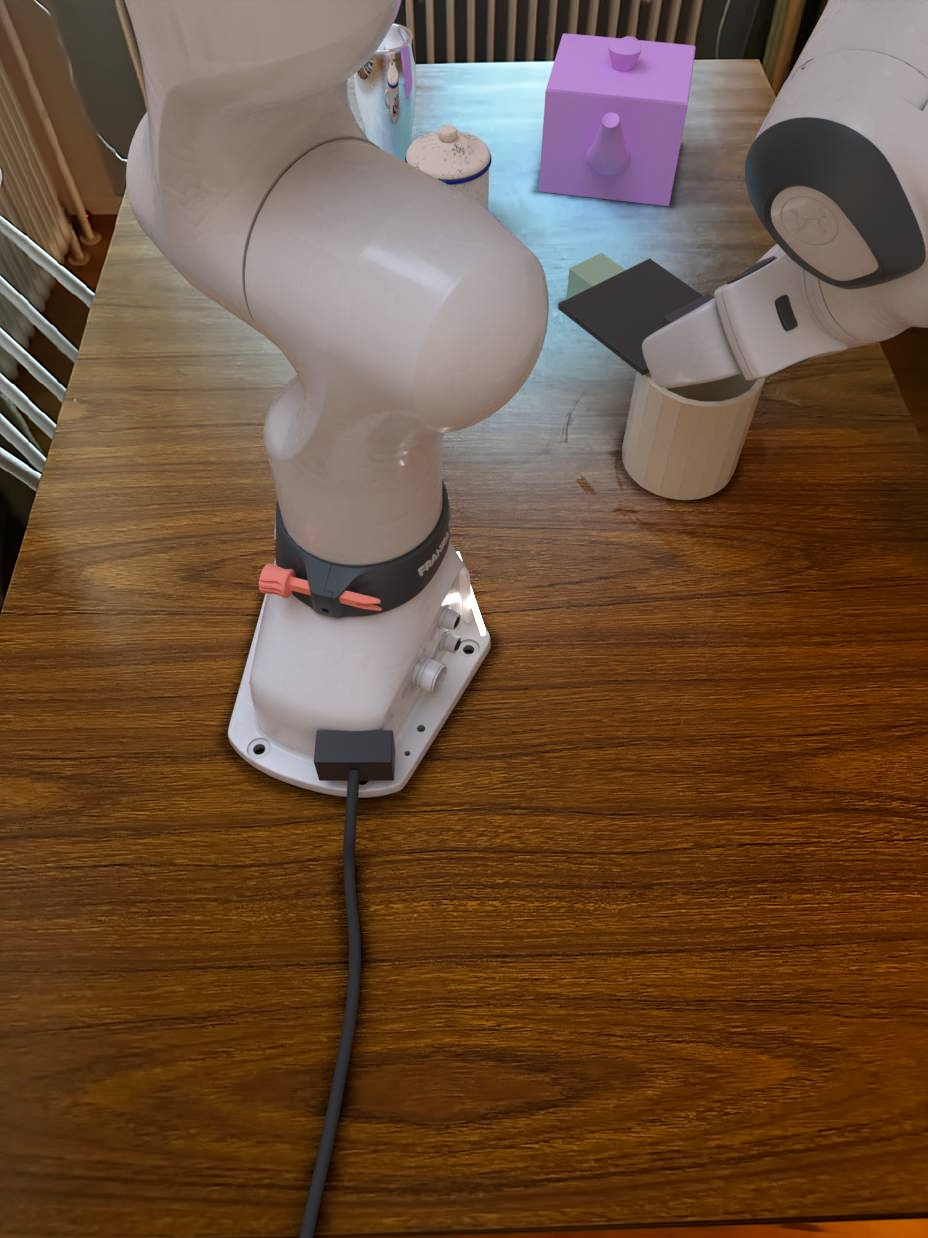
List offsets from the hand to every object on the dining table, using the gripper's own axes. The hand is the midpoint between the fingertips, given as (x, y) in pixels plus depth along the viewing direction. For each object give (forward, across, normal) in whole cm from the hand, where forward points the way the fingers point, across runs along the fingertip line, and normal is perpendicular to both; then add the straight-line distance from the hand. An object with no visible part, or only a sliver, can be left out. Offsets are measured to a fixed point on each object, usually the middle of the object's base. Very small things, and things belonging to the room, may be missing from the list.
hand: (699, 328), depth 76 cm
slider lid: (+6, 0, -2) cm, 6 cm away
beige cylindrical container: (+9, 0, +10) cm, 14 cm away
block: (+24, -8, -4) cm, 26 cm away
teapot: (+36, -26, -17) cm, 48 cm away
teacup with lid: (+39, -3, -19) cm, 43 cm away
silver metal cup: (+48, -6, -28) cm, 56 cm away
